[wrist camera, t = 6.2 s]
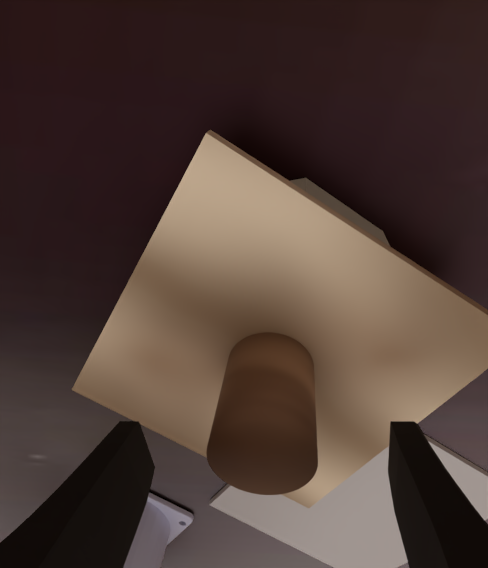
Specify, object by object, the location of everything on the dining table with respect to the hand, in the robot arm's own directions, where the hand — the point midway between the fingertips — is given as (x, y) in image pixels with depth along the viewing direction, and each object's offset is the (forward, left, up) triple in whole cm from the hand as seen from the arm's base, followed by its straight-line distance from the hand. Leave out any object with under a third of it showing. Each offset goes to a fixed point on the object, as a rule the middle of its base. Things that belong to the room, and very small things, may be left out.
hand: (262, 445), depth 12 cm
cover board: (0, 0, -4) cm, 4 cm away
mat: (-10, -13, -9) cm, 19 cm away
